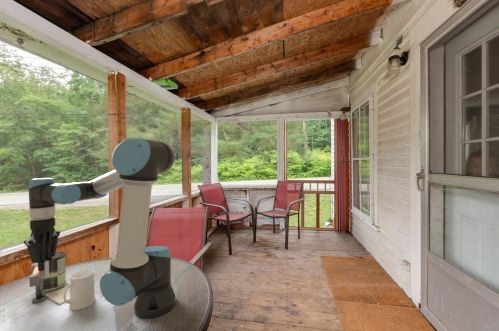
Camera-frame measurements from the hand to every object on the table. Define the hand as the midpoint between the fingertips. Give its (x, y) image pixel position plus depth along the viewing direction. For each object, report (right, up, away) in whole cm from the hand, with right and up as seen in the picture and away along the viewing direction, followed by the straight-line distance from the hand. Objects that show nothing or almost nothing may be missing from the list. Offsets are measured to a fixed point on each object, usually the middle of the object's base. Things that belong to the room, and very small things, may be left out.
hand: (44, 277), depth 93 cm
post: (-7, -12, +6) cm, 15 cm away
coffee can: (-12, -12, +18) cm, 25 cm away
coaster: (+2, -12, +11) cm, 16 cm away
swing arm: (-4, 0, +1) cm, 4 cm away
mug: (+12, -12, +1) cm, 17 cm away
